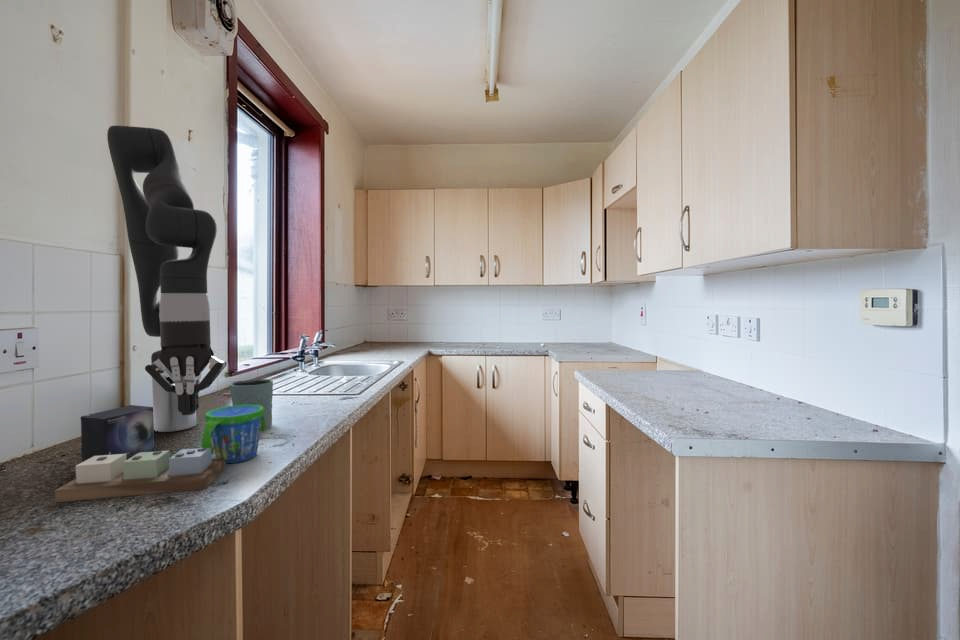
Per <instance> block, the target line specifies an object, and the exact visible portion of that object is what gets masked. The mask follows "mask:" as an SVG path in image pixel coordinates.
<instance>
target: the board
mask: <svg viewBox="0 0 960 640" xmlns="http://www.w3.org/2000/svg"><path fill="white" fill-rule="evenodd" d="M225 469H226V463H225V458H217V459H216V458H212V465H211V466H210V467H209V468H207V469H206V470H205V471H204V472H203V473H201V474H189V475H177V476H170V475H169V469H168V470H166V471H165V472H164V473H162V474H161V475H160V476H159V477H153V478H141V479H129V480H124V473H123V474H121V475H120V476H118V477H117V478H115V479H114V480H112V481H105V482H93V483H82V484H76V478H74V479H73V480H71V481H69V482H67V483H66V484H64V485H61V486H60V487H59V488H57V489H55V490H54V494H55V503H61V502H62V503H64V502H75V501H83V500H84V501H85V500H87V501H88V500H94V499H96V500H97V499H106V498H107V499H108V498H119V497H131V496H140V495H153V494H161V493H163V494H164V493H172V492H173V493H174V492H183V491H185V492H186V491H195V490H196V491H197V490H205V489H207V488H208V487H209V486H210V485H211V483H212V482H213V481H214V480H216V478H217V477H218V476H219V475H220V474H221V473H222V472H223V471H224V470H225Z"/></svg>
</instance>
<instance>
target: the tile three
mask: <svg viewBox="0 0 960 640" xmlns="http://www.w3.org/2000/svg"><path fill="white" fill-rule="evenodd" d="M212 459H213V457H212V454H211V447H210V448H206V447H204V448H201V447H198V448H187V449H186V448H185V449H183V448H182V449H180V450H179V451H177V452H176V453H175V454H173V455H172V456H170V458H169V475H170V476H177V475H189V474H201V473H203V472H204V471H205V470H206V469H207V468H209V467H210V466H211V465H212Z"/></svg>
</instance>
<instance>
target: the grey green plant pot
mask: <svg viewBox="0 0 960 640" xmlns="http://www.w3.org/2000/svg"><path fill="white" fill-rule="evenodd" d="M273 390H274V381H273V379H271V378H270V379H269V378H259V379H258V378H257V379H248V380H247V379H245V380H240V381H235V382H234V381H233V382H231V383H230V384H229V391H230V392H229V393H230V397H231V402H232V405H231V406H234V405H260V406H262V407H263V409H264V417H265V422H266V428H268V427H270V426H271V425H273V413H272V412H273V394H274V393H273ZM271 427H272V426H271ZM271 427H270V428H271ZM268 429H269V428H268Z"/></svg>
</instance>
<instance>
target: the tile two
mask: <svg viewBox="0 0 960 640" xmlns="http://www.w3.org/2000/svg"><path fill="white" fill-rule="evenodd" d="M169 458H171V452H170V450H154V452H142V453H138V454H136V455H134V456H133V457H131V458H129V459H128V460H126V461H124V462H123V470H124V480H129V479H141V478H153V477H159V476H160V475H161V474H162V473H164V472H165V471H166V470H168V469H169Z"/></svg>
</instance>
